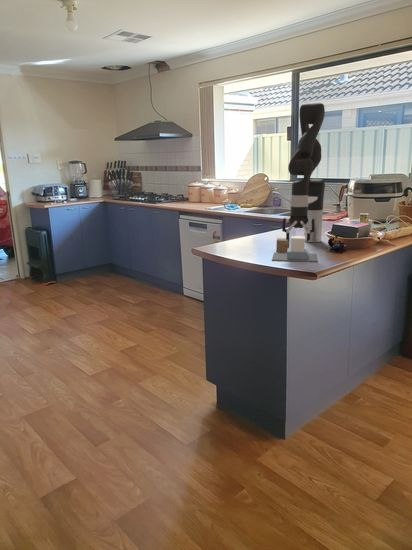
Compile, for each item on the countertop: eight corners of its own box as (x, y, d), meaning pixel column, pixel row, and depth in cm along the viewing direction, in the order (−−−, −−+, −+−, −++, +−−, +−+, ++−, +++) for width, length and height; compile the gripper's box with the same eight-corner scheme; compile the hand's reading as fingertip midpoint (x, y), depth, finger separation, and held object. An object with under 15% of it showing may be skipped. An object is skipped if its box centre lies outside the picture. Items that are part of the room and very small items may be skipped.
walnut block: (276, 249, 216) (277, 238, 214) (289, 250, 215) (289, 238, 213) (276, 252, 210) (276, 240, 209) (288, 252, 209) (289, 240, 207)
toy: (326, 249, 207) (326, 236, 219) (330, 260, 209) (329, 246, 222) (345, 244, 203) (344, 231, 216) (349, 256, 206) (347, 242, 218)
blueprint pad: (273, 253, 207) (274, 246, 206) (316, 254, 203) (317, 247, 202) (271, 260, 192) (272, 253, 191) (318, 262, 188) (318, 254, 187)
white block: (290, 248, 200) (291, 235, 199) (304, 249, 199) (304, 236, 197) (290, 251, 194) (291, 238, 193) (304, 251, 193) (305, 238, 192)
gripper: (315, 204, 194) (313, 239, 198) (283, 204, 196) (282, 239, 201) (316, 206, 186) (314, 243, 191) (282, 206, 189) (281, 242, 194)
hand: (297, 241), depth 196 cm, fingers open, 8 cm apart
